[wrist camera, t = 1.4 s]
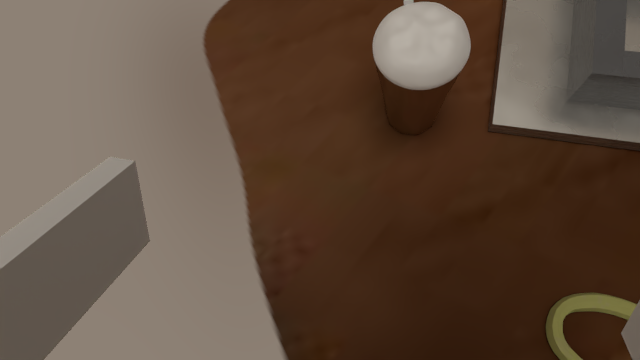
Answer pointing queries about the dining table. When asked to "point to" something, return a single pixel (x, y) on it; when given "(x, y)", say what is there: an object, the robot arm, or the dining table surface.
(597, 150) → the dining table surface
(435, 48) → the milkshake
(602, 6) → the holder
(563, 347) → the key
